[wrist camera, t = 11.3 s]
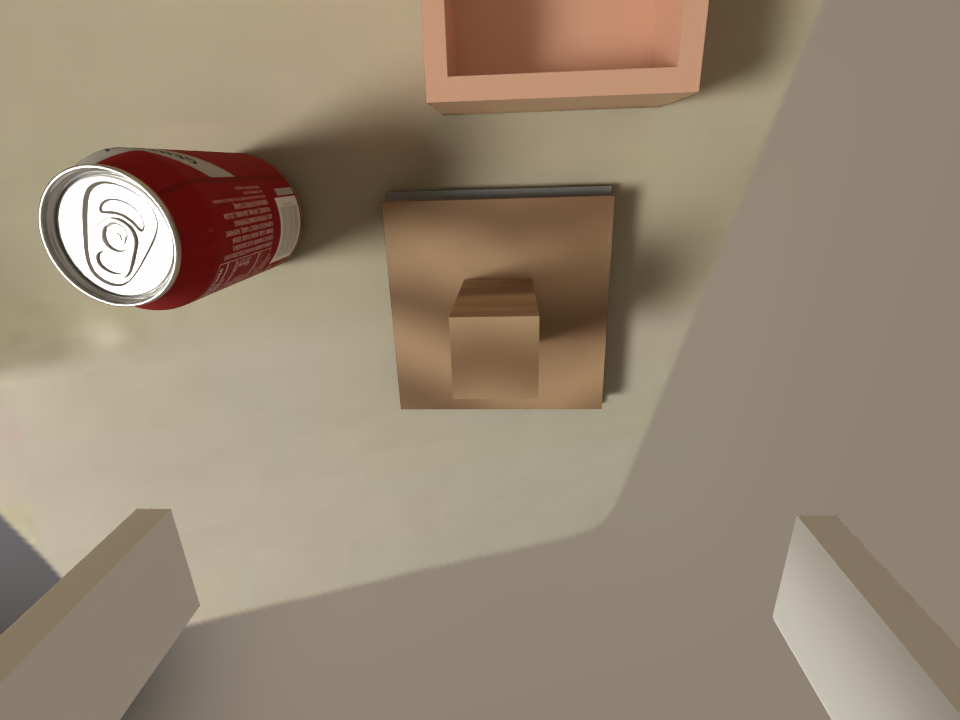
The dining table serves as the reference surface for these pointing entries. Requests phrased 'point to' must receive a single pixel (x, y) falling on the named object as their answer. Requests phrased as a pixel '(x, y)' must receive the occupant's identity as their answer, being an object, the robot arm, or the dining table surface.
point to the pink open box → (560, 54)
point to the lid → (500, 300)
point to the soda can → (167, 224)
